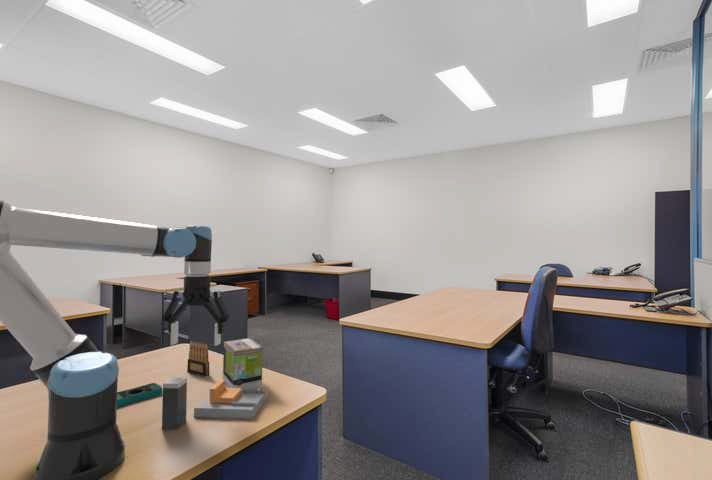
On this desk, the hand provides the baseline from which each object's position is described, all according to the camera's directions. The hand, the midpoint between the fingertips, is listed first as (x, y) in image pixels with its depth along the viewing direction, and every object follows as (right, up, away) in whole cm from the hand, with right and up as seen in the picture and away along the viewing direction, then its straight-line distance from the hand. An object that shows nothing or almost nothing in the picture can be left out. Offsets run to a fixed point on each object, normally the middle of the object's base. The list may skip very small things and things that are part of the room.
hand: (195, 344), depth 101 cm
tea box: (+9, -20, +14) cm, 26 cm away
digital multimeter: (-22, -19, +4) cm, 29 cm away
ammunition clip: (-12, -20, +26) cm, 34 cm away
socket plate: (+12, -19, -2) cm, 22 cm away
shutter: (+10, -16, -1) cm, 19 cm away
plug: (0, -18, -12) cm, 22 cm away
